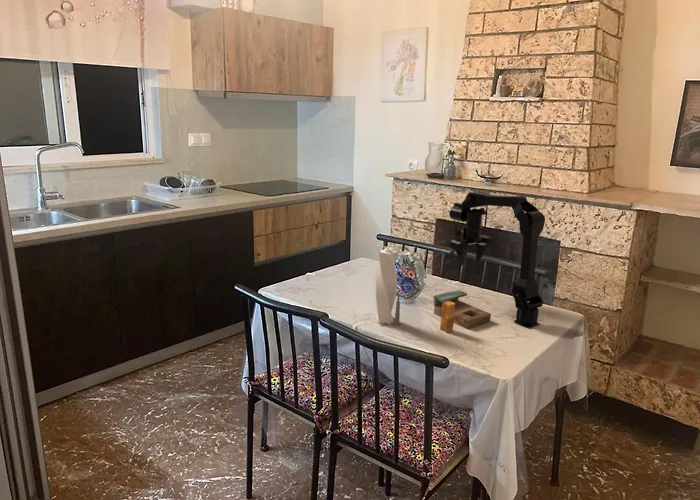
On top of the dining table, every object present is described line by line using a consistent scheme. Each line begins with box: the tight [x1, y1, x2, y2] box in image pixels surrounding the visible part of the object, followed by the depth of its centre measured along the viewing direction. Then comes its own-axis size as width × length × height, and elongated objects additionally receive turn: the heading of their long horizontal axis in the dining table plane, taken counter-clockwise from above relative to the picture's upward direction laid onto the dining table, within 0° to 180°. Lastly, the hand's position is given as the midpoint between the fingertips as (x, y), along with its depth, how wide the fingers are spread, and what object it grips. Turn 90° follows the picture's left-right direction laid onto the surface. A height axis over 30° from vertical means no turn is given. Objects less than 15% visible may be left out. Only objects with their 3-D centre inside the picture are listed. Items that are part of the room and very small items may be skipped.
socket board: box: [432, 289, 492, 330], centre depth 188 cm, size 16×13×7 cm
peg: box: [439, 301, 455, 334], centre depth 176 cm, size 3×3×10 cm
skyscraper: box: [374, 244, 401, 327], centre depth 180 cm, size 8×8×28 cm
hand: (469, 263), depth 204 cm, fingers open, 9 cm apart
